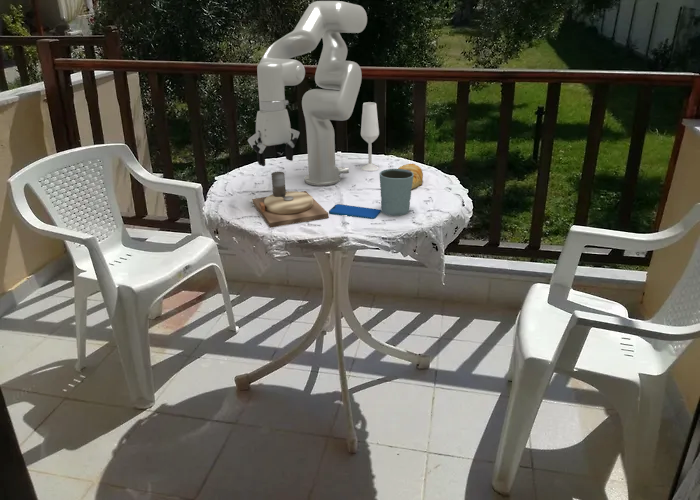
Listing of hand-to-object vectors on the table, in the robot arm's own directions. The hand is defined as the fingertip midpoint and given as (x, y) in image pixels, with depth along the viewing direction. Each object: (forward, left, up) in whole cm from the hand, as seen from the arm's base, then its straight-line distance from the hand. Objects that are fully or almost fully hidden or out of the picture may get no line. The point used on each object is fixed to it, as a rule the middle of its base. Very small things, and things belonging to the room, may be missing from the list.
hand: (275, 162), depth 181 cm
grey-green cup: (-32, +19, -15) cm, 40 cm away
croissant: (-47, -3, -15) cm, 49 cm away
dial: (-2, +5, -12) cm, 13 cm away
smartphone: (-20, +15, -15) cm, 29 cm away
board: (-2, +5, -14) cm, 15 cm away
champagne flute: (-42, -24, -15) cm, 50 cm away
